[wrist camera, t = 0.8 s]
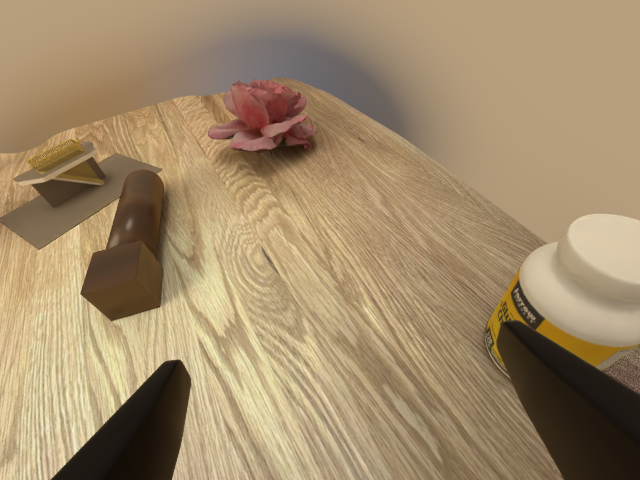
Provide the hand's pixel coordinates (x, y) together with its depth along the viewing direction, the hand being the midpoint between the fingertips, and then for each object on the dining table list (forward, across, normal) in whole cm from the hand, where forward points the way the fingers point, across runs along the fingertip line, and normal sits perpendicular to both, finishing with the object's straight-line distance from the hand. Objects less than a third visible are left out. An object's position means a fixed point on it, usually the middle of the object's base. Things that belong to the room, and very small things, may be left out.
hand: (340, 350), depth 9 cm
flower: (+42, +7, +5) cm, 43 cm away
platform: (+37, +33, +6) cm, 50 cm away
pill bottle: (+9, -14, +14) cm, 21 cm away
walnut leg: (+26, +20, +9) cm, 34 cm away
